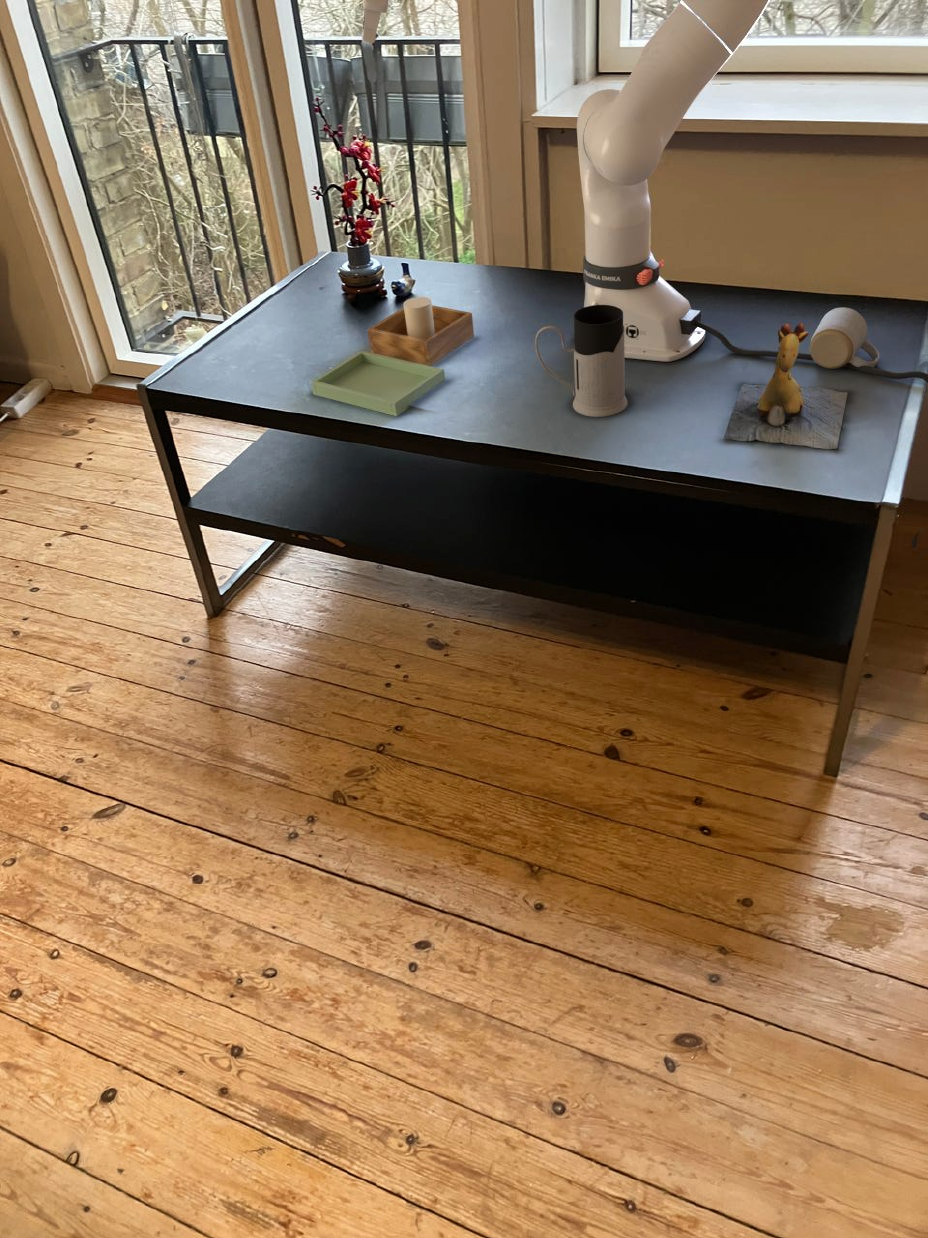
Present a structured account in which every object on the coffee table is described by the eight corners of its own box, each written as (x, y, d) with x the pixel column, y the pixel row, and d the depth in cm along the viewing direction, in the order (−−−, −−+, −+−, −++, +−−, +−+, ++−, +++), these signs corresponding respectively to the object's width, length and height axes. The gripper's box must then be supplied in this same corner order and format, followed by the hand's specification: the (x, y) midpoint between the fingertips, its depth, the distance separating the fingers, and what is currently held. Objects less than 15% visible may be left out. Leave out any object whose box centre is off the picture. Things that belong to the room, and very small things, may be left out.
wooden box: (474, 339, 192) (471, 312, 189) (430, 369, 184) (426, 342, 181) (416, 327, 199) (412, 301, 196) (371, 355, 191) (367, 329, 188)
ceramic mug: (804, 368, 170) (810, 323, 165) (817, 347, 176) (823, 303, 171) (871, 378, 166) (879, 332, 161) (882, 356, 171) (891, 311, 166)
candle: (441, 341, 191) (436, 299, 186) (425, 352, 188) (419, 309, 183) (420, 336, 194) (414, 295, 189) (403, 347, 191) (397, 305, 186)
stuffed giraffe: (723, 438, 155) (735, 336, 145) (742, 387, 168) (754, 290, 158) (836, 452, 150) (856, 347, 140) (846, 398, 163) (865, 299, 154)
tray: (445, 382, 179) (444, 369, 178) (396, 416, 171) (394, 403, 170) (363, 362, 189) (361, 350, 187) (313, 394, 181) (310, 381, 179)
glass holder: (630, 414, 164) (630, 323, 155) (540, 421, 165) (534, 331, 156) (624, 389, 171) (624, 300, 162) (538, 395, 172) (532, 308, 163)
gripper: (410, -59, 140) (390, 54, 148) (404, -74, 156) (387, 28, 164) (363, -72, 138) (346, 43, 146) (362, -86, 154) (347, 18, 162)
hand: (368, 35), depth 155 cm, fingers open, 8 cm apart
